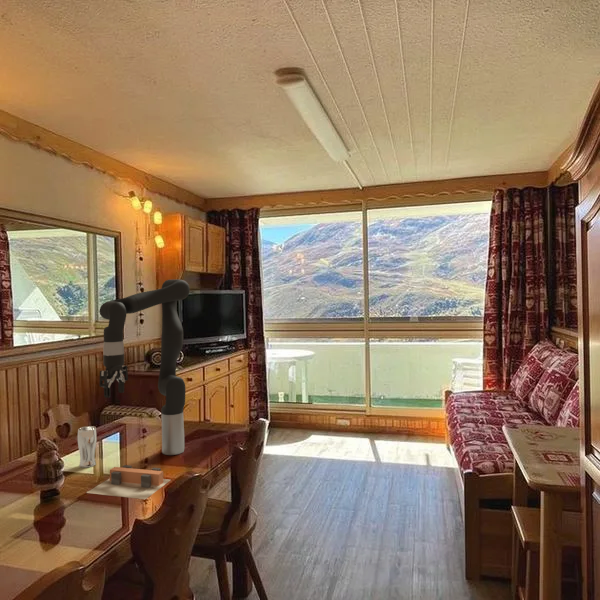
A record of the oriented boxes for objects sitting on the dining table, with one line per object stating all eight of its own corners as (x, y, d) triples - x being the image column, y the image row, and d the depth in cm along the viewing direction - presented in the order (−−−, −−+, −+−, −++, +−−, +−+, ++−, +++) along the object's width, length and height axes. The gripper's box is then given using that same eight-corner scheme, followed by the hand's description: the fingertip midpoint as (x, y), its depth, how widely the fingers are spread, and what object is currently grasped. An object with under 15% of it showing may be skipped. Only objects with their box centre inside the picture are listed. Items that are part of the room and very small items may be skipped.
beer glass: (76, 469, 187) (75, 431, 186) (79, 463, 193) (79, 426, 193) (95, 467, 188) (94, 430, 188) (98, 461, 195) (97, 425, 195)
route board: (116, 477, 178) (115, 463, 177) (171, 483, 172) (171, 468, 172) (85, 496, 161) (85, 481, 161) (145, 502, 156) (145, 487, 156)
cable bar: (115, 477, 174) (114, 466, 174) (163, 482, 170) (163, 471, 169) (109, 480, 172) (109, 469, 172) (158, 485, 167) (158, 474, 167)
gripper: (116, 350, 190) (117, 390, 190) (93, 355, 176) (93, 398, 176) (133, 351, 188) (133, 391, 188) (110, 355, 174) (111, 399, 175)
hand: (114, 394), depth 182 cm, fingers open, 8 cm apart
